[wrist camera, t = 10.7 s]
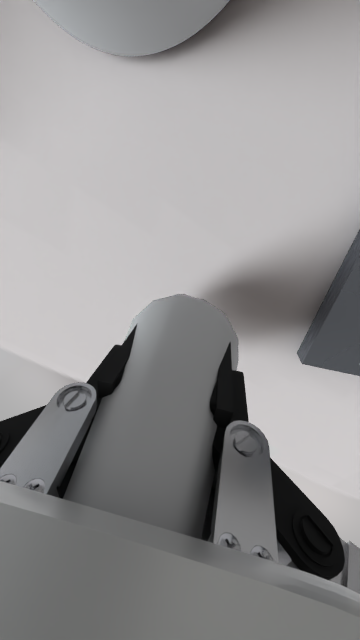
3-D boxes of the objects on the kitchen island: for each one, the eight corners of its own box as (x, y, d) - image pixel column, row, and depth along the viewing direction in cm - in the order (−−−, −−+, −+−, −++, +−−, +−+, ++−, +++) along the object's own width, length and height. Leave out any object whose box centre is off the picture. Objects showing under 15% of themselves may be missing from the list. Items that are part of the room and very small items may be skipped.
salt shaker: (257, 319, 12) (549, 1372, 1) (200, 376, 15) (132, 861, 4) (172, 260, 12) (-952, 1577, 1) (128, 331, 15) (-197, 776, 3)
